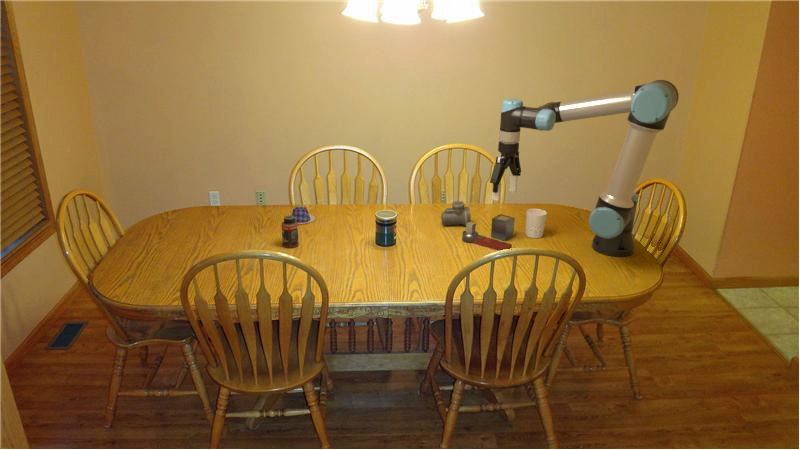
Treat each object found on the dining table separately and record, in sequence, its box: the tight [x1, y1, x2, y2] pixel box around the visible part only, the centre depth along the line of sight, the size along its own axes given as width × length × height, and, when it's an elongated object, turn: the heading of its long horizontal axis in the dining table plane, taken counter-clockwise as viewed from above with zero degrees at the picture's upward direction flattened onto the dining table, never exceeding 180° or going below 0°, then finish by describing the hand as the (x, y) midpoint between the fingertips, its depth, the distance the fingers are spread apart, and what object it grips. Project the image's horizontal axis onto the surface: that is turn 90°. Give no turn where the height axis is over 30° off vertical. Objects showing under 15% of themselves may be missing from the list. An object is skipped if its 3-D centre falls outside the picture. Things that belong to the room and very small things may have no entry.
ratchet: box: [461, 221, 513, 251], centre depth 222 cm, size 20×6×7 cm, turn 53°
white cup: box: [525, 208, 548, 239], centre depth 232 cm, size 8×8×10 cm
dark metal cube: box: [490, 213, 516, 242], centre depth 230 cm, size 6×6×8 cm
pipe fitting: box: [440, 200, 472, 227], centre depth 241 cm, size 12×8×10 cm
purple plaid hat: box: [291, 206, 316, 225], centre depth 244 cm, size 12×12×5 cm
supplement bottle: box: [281, 214, 300, 249], centre depth 217 cm, size 6×6×11 cm
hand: (504, 195), depth 226 cm, fingers open, 13 cm apart
